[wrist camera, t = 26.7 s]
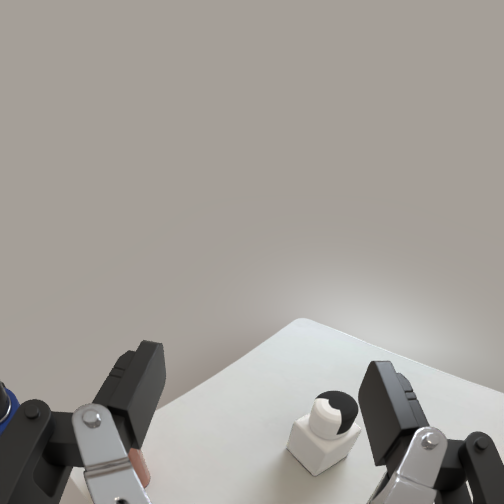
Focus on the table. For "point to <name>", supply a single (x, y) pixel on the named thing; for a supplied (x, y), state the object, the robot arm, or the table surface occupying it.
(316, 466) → the medicine bottle
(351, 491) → the table surface
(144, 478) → the tube
